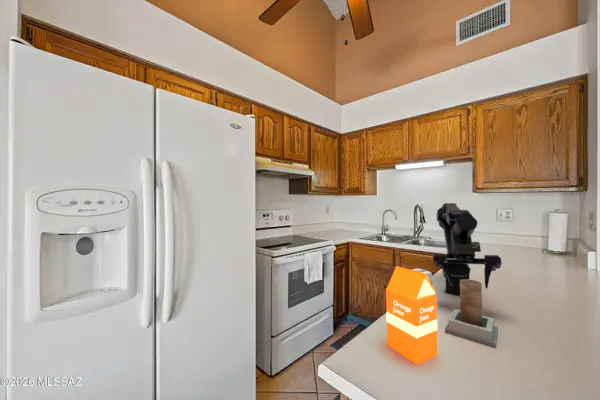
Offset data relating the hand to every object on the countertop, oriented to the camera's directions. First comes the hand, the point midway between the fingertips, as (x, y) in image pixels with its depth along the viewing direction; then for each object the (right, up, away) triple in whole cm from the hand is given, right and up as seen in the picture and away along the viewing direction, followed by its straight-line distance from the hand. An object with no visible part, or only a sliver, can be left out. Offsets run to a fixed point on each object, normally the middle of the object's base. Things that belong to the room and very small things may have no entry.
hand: (468, 287), depth 77 cm
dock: (-6, -9, -10) cm, 15 cm away
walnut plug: (-6, -8, -10) cm, 14 cm away
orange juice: (-27, -9, -18) cm, 34 cm away
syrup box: (-16, -10, 0) cm, 19 cm away
